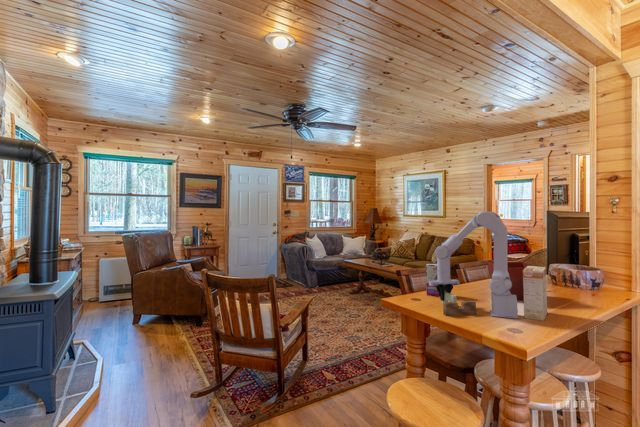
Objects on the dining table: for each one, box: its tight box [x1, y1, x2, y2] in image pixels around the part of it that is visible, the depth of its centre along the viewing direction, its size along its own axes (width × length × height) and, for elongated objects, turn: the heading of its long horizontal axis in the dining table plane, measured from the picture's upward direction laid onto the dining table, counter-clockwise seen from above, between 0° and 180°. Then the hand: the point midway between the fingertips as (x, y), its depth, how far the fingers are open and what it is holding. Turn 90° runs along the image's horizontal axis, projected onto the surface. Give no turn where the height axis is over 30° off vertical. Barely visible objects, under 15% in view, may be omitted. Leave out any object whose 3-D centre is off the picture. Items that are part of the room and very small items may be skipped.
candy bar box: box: [425, 263, 440, 297], centre depth 175 cm, size 11×5×16 cm, turn 73°
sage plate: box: [440, 292, 458, 304], centre depth 151 cm, size 10×2×6 cm, turn 10°
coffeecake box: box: [523, 265, 548, 322], centre depth 137 cm, size 15×7×20 cm, turn 141°
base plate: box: [442, 300, 477, 317], centre depth 140 cm, size 14×2×5 cm, turn 100°
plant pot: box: [487, 261, 542, 301], centre depth 167 cm, size 19×19×17 cm
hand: (444, 300), depth 154 cm, fingers closed on sage plate, 2 cm apart
